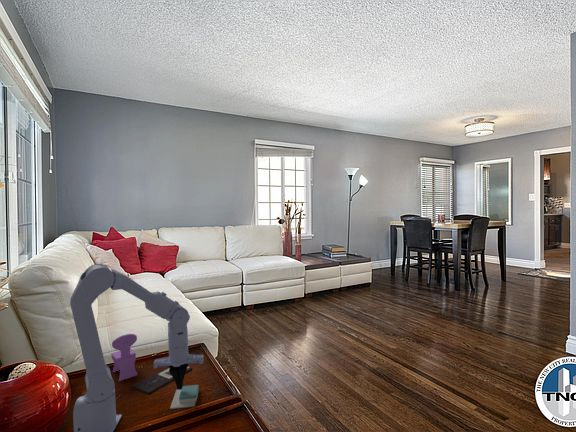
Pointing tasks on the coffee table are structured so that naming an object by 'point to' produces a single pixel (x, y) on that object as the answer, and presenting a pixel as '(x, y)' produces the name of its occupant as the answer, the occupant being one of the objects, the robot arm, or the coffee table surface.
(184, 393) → the tile
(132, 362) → the toy chair
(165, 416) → the coffee table surface
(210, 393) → the coffee table surface
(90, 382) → the robot arm
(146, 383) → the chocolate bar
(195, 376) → the coffee table surface
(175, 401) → the mat
